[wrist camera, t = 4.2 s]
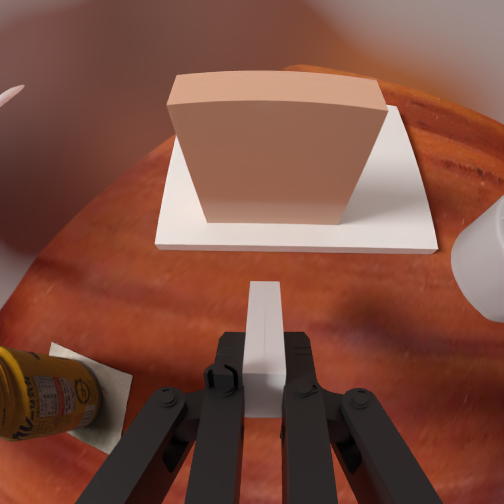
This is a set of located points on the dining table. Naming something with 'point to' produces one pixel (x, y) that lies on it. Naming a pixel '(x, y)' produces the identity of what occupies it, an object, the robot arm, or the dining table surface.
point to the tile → (275, 142)
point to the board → (317, 236)
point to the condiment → (61, 397)
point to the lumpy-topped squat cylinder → (482, 262)
